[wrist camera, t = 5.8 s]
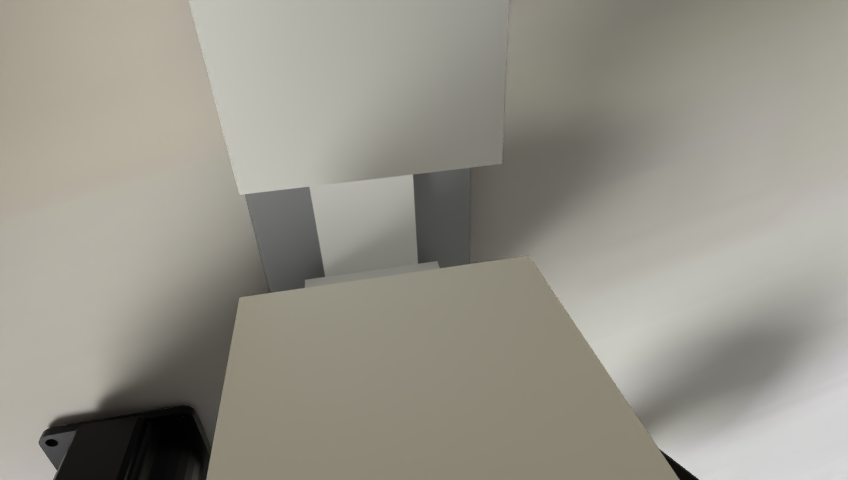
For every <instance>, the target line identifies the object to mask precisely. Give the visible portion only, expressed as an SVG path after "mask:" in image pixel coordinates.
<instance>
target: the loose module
mask: <svg viewBox="0 0 848 480" xmlns="http://www.w3.org/2000/svg"><path fill="white" fill-rule="evenodd" d="M206 480H679V478H678V477H677V475H676V474H675V472H674V471H673V469H672V468H671V466H670V465H669V463H668V462H667V460H666V459H665V457H664V456H663V454H662V453H661V451H660V450H659V448H658V447H657V445H656V444H655V442H654V441H653V439H652V438H651V436H650V435H649V434H648V432H647V431H646V429H645V428H644V426H643V425H642V423H641V422H640V420H639V419H638V417H637V416H636V414H635V413H634V411H633V410H632V408H631V407H630V405H629V404H628V402H627V401H626V399H625V398H624V396H623V395H622V393H621V392H620V390H619V389H618V387H617V386H616V384H615V383H614V381H613V380H612V378H611V377H610V375H609V374H608V373H607V371H606V370H605V368H604V367H603V365H602V364H601V362H600V361H599V359H598V358H597V356H596V355H595V353H594V352H593V350H592V349H591V347H590V346H589V344H588V343H587V341H586V340H585V338H584V337H583V335H582V334H581V332H580V331H579V329H578V328H577V326H576V325H575V323H574V322H573V320H572V319H571V317H570V316H569V314H568V313H567V312H566V310H565V309H564V307H563V306H562V304H561V303H560V301H559V300H558V298H557V297H556V295H555V294H554V292H553V291H552V289H551V288H550V286H549V285H548V283H547V282H546V280H545V279H544V277H543V276H542V274H541V273H540V271H539V270H538V268H537V267H536V265H535V264H534V262H533V261H532V259H531V258H530V256H522V257H515V258H508V259H501V260H494V261H487V262H480V263H474V264H467V265H460V266H453V267H446V268H439V269H432V270H425V271H418V272H411V273H405V274H398V275H391V276H384V277H377V278H370V279H363V280H356V281H349V282H342V283H336V284H329V285H322V286H315V287H308V288H301V289H294V290H287V291H280V292H273V293H266V294H260V295H253V296H246V297H239V303H238V308H237V314H236V319H235V325H234V330H233V336H232V341H231V347H230V352H229V358H228V363H227V369H226V374H225V380H224V385H223V391H222V396H221V402H220V407H219V413H218V418H217V424H216V429H215V434H214V440H213V445H212V451H211V456H210V462H209V467H208V473H207V478H206Z"/></svg>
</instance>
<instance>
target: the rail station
mask: <svg viewBox="0 0 848 480" xmlns="http://www.w3.org/2000/svg"><path fill="white" fill-rule="evenodd" d="M189 4H190V8H191V11H192V15H193V19H194V23H195V27H196V31H197V35H198V38H199V42H200V46H201V50H202V54H203V58H204V61H205V65H206V69H207V73H208V77H209V81H210V84H211V88H212V92H213V96H214V100H215V104H216V108H217V111H218V115H219V119H220V123H221V127H222V131H223V134H224V138H225V142H226V146H227V150H228V154H229V157H230V161H231V165H232V169H233V173H234V177H235V181H236V184H237V188H238V192H239V195H242V194H245V197H246V201H247V205H248V209H249V213H250V217H251V221H252V225H253V228H254V232H255V236H256V240H257V244H258V248H259V252H260V256H261V260H262V264H263V268H264V272H265V276H266V280H267V284H268V288H269V292H270V293H273V292H280V291H287V290H294V289H301V288H308V287H315V286H322V285H329V284H336V283H342V282H349V281H356V280H363V279H370V278H377V277H384V276H391V275H398V274H405V273H411V272H418V271H425V270H432V269H439V268H446V267H453V266H460V265H467V264H470V168H472V167H480V166H489V165H498V164H502V157H503V134H504V112H505V89H506V67H507V44H508V22H509V0H189Z"/></svg>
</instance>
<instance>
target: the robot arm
mask: <svg viewBox="0 0 848 480" xmlns="http://www.w3.org/2000/svg"><path fill="white" fill-rule="evenodd" d="M39 445H40V447H41V448H42V449H43V451H44V452H45V454H46V455H47V457H48V458H49V459H50V461H51V462H52V464H53V465H54V467H55V468H56V470H57V472H56V474H55V477H54V479H53V480H206V478H207V473H208V467H209V462H210V456H211V451H212V449H211V447H210V444H209V442H208V440H207V437H206V435H205V432H204V430H203V428H202V425H201V423H200V420H199V418H198V416H197V413H196V411H195V410H194V409H193V408H192V407H189V406H178V407H172V408H166V409H161V410H155V411H149V412H143V413H137V414H131V415H125V416H119V417H113V418H108V419H102V420H96V421H90V422H84V423H78V424H72V425H66V426H60V427H55V428H50V429H47V430H45V431H44V432H43V434H42V436H41V438H40V440H39ZM659 450H660V449H659ZM660 451H661V450H660ZM661 453H662V454H663V456H664V457H665V459H666V460H667V462H668V463H669V465H670V466H671V468H672V469H673V471H674V472H675V474H676V475H677V477H678V478H679V480H699V479H698V478H696V477H695V476H694V475H692V474H691V473H690V472H688V471H687V470H686V469H685V468H683V467H682V466H681V465H679V464H678V463H677V462H675V461H674V460H673V459H672V458H670V457H669V456H668V455H666V454H665V453H664V452H663V451H661Z"/></svg>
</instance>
